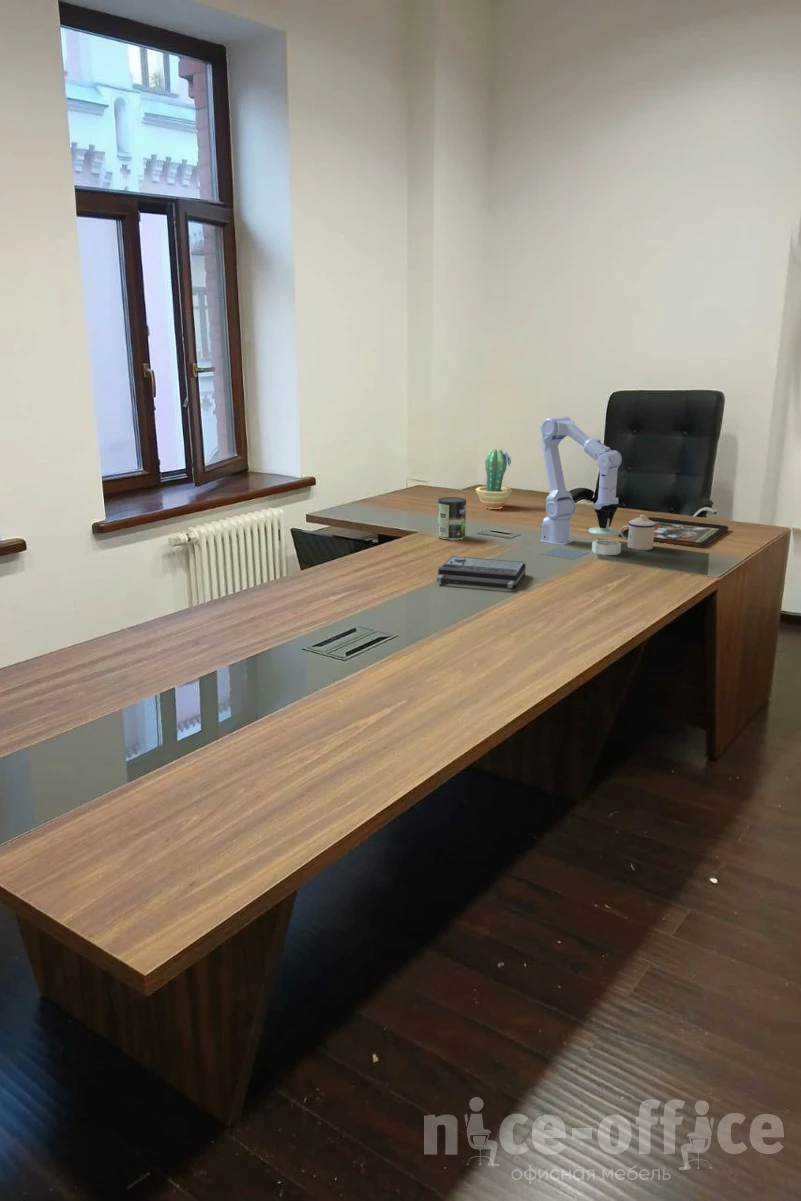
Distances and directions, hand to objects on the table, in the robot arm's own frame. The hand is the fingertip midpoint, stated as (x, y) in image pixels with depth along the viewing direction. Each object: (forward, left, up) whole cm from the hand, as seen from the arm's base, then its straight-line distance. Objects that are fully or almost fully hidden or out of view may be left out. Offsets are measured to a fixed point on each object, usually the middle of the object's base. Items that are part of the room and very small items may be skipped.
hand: (604, 527), depth 304 cm
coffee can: (-54, -12, -9) cm, 56 cm away
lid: (0, 0, -2) cm, 2 cm away
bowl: (+1, +1, -9) cm, 9 cm away
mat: (-9, -10, -9) cm, 16 cm away
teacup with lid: (+6, +15, -9) cm, 18 cm away
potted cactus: (-71, +46, -9) cm, 85 cm away
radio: (-16, -54, -10) cm, 58 cm away
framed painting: (+9, +44, -10) cm, 46 cm away
